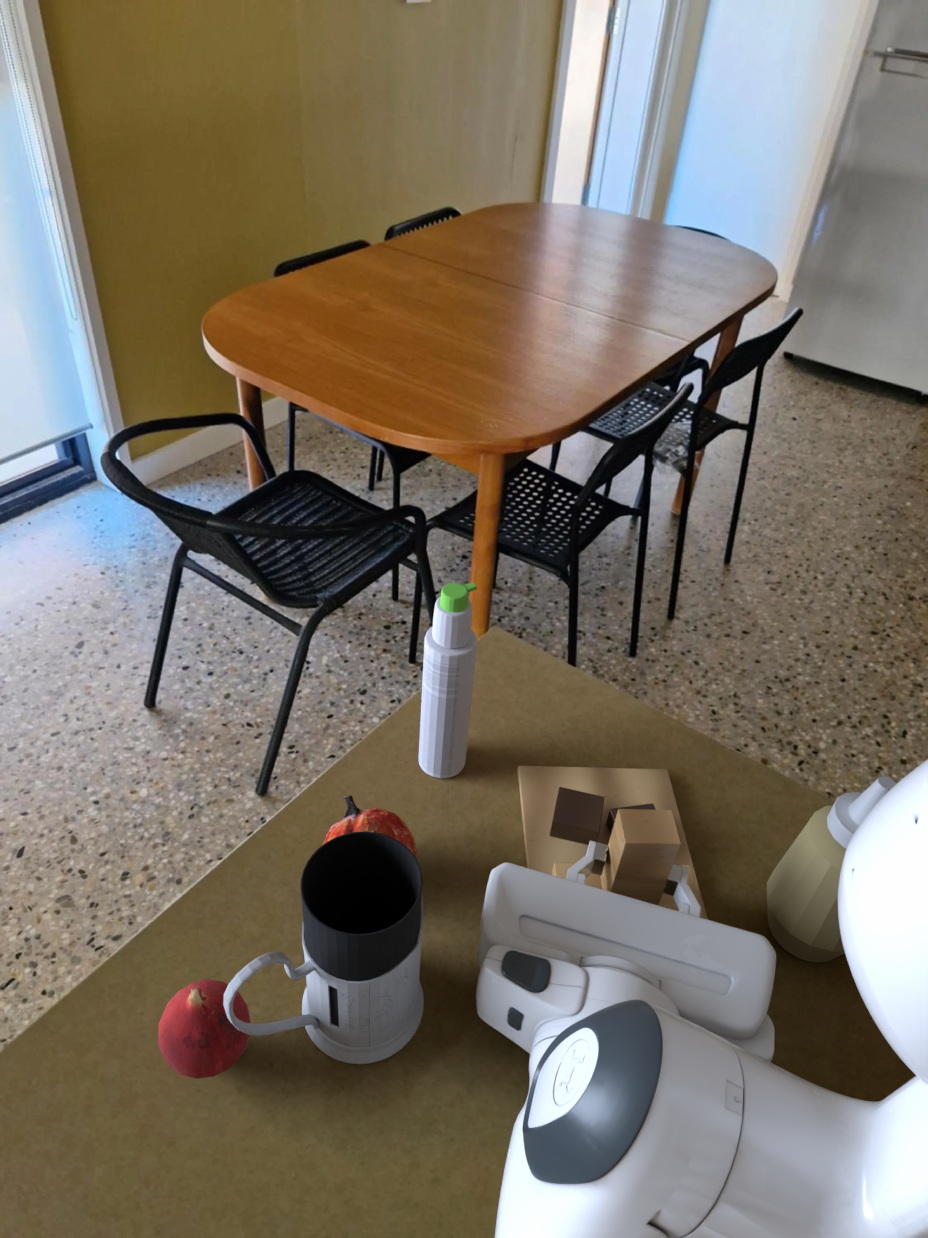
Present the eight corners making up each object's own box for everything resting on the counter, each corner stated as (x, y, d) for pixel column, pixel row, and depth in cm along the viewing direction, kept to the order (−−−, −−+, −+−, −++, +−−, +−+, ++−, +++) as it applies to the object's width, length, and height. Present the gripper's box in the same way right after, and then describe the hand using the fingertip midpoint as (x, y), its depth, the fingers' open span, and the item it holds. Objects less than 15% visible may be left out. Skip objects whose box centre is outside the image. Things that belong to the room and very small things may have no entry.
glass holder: (448, 1010, 64) (461, 890, 55) (278, 1148, 56) (260, 1036, 47) (375, 925, 69) (376, 801, 60) (210, 1042, 61) (180, 921, 52)
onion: (272, 1041, 62) (263, 982, 57) (214, 1116, 58) (199, 1060, 53) (209, 998, 64) (195, 937, 59) (148, 1068, 60) (128, 1008, 55)
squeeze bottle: (733, 923, 71) (802, 775, 60) (788, 869, 76) (862, 722, 64) (822, 998, 67) (915, 853, 55) (875, 936, 71) (971, 790, 60)
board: (665, 774, 83) (667, 769, 83) (719, 976, 68) (721, 971, 67) (517, 771, 82) (518, 765, 82) (537, 974, 67) (538, 969, 66)
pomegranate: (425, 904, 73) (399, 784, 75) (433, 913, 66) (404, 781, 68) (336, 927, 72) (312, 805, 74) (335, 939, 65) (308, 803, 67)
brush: (682, 887, 72) (715, 800, 66) (696, 943, 69) (733, 857, 62) (548, 885, 72) (568, 796, 65) (555, 941, 68) (577, 854, 61)
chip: (600, 811, 78) (604, 796, 77) (595, 847, 75) (599, 832, 74) (556, 801, 79) (559, 786, 78) (549, 836, 76) (552, 821, 74)
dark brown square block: (648, 817, 78) (653, 803, 77) (665, 855, 75) (670, 840, 74) (605, 823, 77) (609, 808, 76) (621, 861, 74) (625, 846, 73)
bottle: (470, 775, 81) (488, 604, 69) (423, 782, 80) (433, 610, 68) (459, 741, 85) (474, 571, 72) (414, 746, 84) (422, 576, 71)
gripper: (789, 1059, 53) (789, 871, 63) (460, 957, 56) (512, 796, 67) (759, 1105, 57) (764, 921, 67) (454, 1007, 60) (504, 847, 71)
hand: (636, 858), depth 67 cm, fingers closed on brush, 5 cm apart
